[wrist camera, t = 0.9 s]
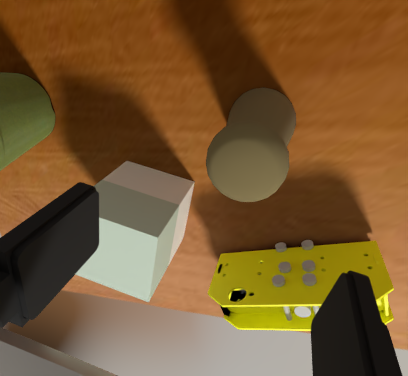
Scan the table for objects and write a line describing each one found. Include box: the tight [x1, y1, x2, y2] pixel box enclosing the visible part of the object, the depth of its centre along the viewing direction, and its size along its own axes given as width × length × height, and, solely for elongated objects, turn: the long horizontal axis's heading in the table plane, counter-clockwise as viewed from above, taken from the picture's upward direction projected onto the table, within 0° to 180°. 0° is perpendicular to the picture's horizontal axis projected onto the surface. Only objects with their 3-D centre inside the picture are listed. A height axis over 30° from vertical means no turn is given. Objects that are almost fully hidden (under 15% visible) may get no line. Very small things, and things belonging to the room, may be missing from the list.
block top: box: [76, 180, 179, 302], centre depth 28 cm, size 8×8×5 cm
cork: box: [206, 88, 296, 202], centre depth 22 cm, size 6×6×11 cm
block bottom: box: [103, 161, 195, 264], centre depth 32 cm, size 8×8×5 cm
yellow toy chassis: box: [208, 240, 394, 331], centre depth 29 cm, size 16×6×8 cm, turn 109°
